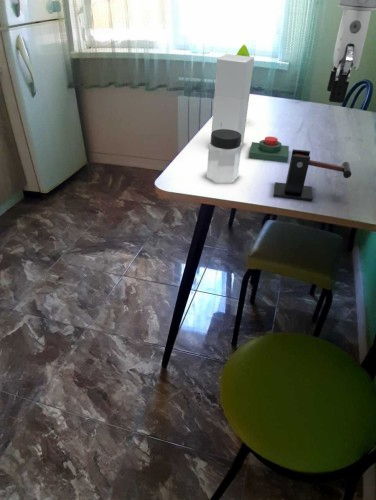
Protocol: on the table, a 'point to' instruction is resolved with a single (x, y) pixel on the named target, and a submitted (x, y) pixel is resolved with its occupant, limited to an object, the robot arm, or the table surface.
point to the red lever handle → (332, 167)
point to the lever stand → (295, 179)
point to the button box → (269, 152)
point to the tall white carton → (232, 93)
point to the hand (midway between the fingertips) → (334, 96)
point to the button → (270, 141)
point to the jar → (224, 156)
